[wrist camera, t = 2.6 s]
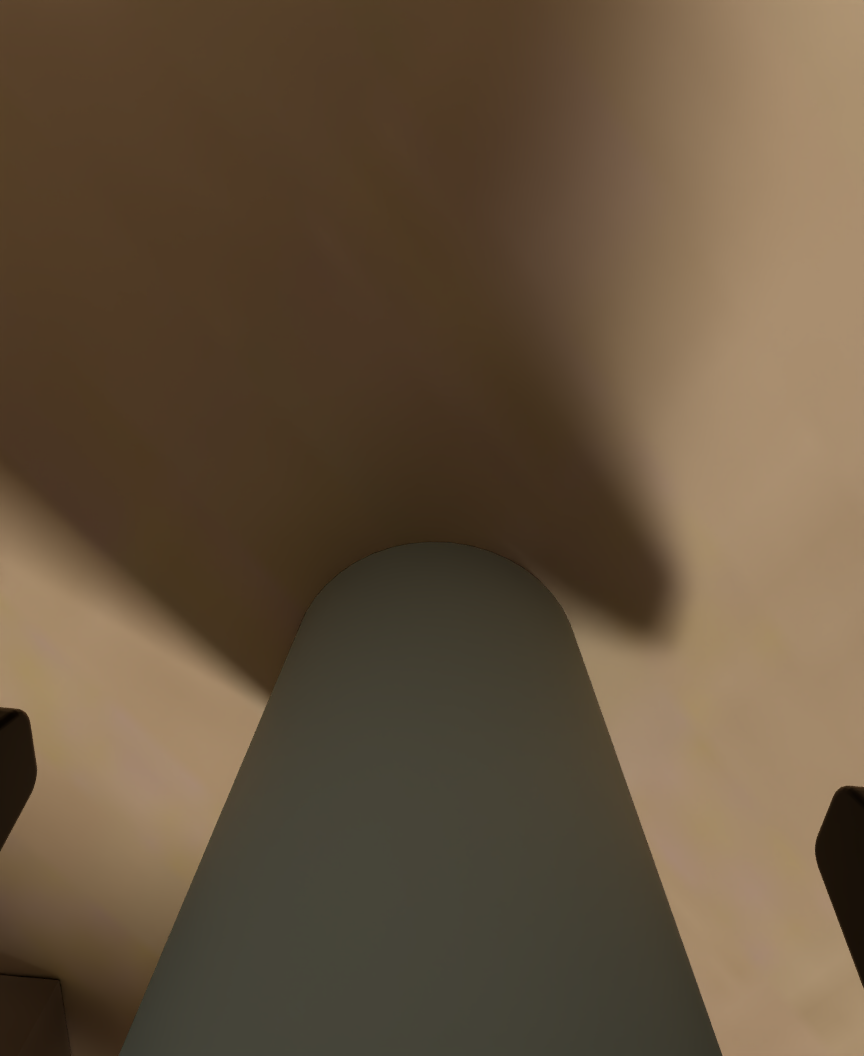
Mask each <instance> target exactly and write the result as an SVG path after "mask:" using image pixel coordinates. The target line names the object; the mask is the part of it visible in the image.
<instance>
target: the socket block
mask: <svg viewBox="0 0 864 1056" xmlns="http://www.w3.org/2000/svg"><path fill="white" fill-rule="evenodd" d="M0 1056H71V1051H70V1045H69V1039H68V1032H67V1026H66V1020H65V1013H64V1007H63V1001H62V994H61V988H60V982H59V980H51V979H39V978H27V977H16V976H4V975H0Z"/></svg>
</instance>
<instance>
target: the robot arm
mask: <svg viewBox="0 0 864 1056" xmlns="http://www.w3.org/2000/svg"><path fill="white" fill-rule="evenodd" d="M36 776H37V765H36V758H35V751H34V745H33V738H32V731H31V725H30V720H29V717H28V715H27V714H26V713H25V712H24V711H22V710H20V709H14V708H3V707H0V851H1V849H2V847H3V845H4V843H5V842H6V840H7V838H8V836H9V834H10V832H11V830H12V828H13V827H14V825H15V823H16V821H17V819H18V817H19V815H20V814H21V812H22V810H23V808H24V806H25V804H26V802H27V800H28V799H29V797H30V795H31V793H32V791H33V788H34V785H35V781H36ZM815 855H816V861H817V864H818V868H819V870H820V873H821V876H822V878H823V881H824V884H825V886H826V889H827V892H828V894H829V897H830V900H831V902H832V905H833V908H834V910H835V913H836V916H837V919H838V921H839V924H840V927H841V929H842V932H843V935H844V937H845V940H846V943H847V945H848V948H849V951H850V953H851V956H852V959H853V961H854V964H855V967H856V969H857V972H858V975H859V977H860V980H861V983H862V985H863V988H864V787H857V786H844V787H841V788H840V789H838V790H837V791H836V792H835V794H834V796H833V798H832V801H831V803H830V806H829V808H828V811H827V813H826V816H825V818H824V821H823V823H822V826H821V828H820V831H819V833H818V836H817V839H816V845H815Z"/></svg>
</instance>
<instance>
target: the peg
mask: <svg viewBox="0 0 864 1056" xmlns="http://www.w3.org/2000/svg"><path fill="white" fill-rule="evenodd" d="M119 1056H722V1053H721V1050H720V1048H719V1045H718V1042H717V1039H716V1036H715V1033H714V1030H713V1028H712V1025H711V1022H710V1019H709V1016H708V1013H707V1011H706V1008H705V1005H704V1002H703V999H702V996H701V994H700V991H699V988H698V985H697V982H696V979H695V977H694V974H693V971H692V968H691V965H690V962H689V959H688V957H687V954H686V951H685V948H684V945H683V942H682V940H681V937H680V934H679V931H678V928H677V925H676V923H675V920H674V917H673V914H672V911H671V908H670V905H669V903H668V900H667V897H666V894H665V891H664V888H663V886H662V883H661V880H660V877H659V874H658V871H657V869H656V866H655V863H654V860H653V857H652V854H651V851H650V849H649V846H648V843H647V840H646V837H645V834H644V832H643V829H642V826H641V823H640V820H639V817H638V815H637V812H636V809H635V806H634V803H633V800H632V797H631V795H630V792H629V789H628V786H627V783H626V780H625V778H624V775H623V772H622V769H621V766H620V763H619V761H618V758H617V755H616V752H615V749H614V746H613V744H612V741H611V738H610V735H609V732H608V729H607V726H606V724H605V721H604V718H603V715H602V712H601V709H600V707H599V704H598V701H597V698H596V695H595V692H594V690H593V687H592V684H591V681H590V678H589V675H588V672H587V670H586V667H585V664H584V661H583V658H582V655H581V653H580V650H579V647H578V644H577V641H576V638H575V636H574V633H573V630H572V627H571V624H570V622H569V620H568V618H567V616H566V614H565V612H564V610H563V609H562V607H561V606H560V604H559V603H558V601H557V600H556V599H555V597H554V596H553V595H552V593H551V592H550V591H549V590H548V589H547V588H546V587H545V586H544V585H543V584H542V583H541V582H540V581H539V580H538V579H537V578H535V577H534V576H533V575H531V574H530V573H529V572H528V571H526V570H525V569H524V568H522V567H520V566H519V565H517V564H515V563H513V562H512V561H510V560H508V559H506V558H504V557H502V556H499V555H497V554H495V553H492V552H490V551H487V550H483V549H480V548H476V547H473V546H468V545H462V544H456V543H446V542H423V543H412V544H406V545H401V546H397V547H392V548H388V549H386V550H383V551H380V552H377V553H374V554H371V555H369V556H367V557H365V558H363V559H361V560H359V561H357V562H355V563H354V564H352V565H351V566H349V567H348V568H346V569H345V570H343V571H342V572H340V573H339V574H338V575H337V576H336V577H335V578H333V579H332V580H331V581H330V582H329V583H328V584H327V585H326V586H325V587H324V588H323V589H322V590H321V592H320V593H319V594H318V595H317V596H316V598H315V599H314V600H313V602H312V603H311V605H310V607H309V608H308V610H307V612H306V613H305V615H304V618H303V620H302V622H301V625H300V627H299V629H298V632H297V634H296V637H295V639H294V641H293V644H292V646H291V648H290V651H289V653H288V656H287V658H286V660H285V663H284V665H283V667H282V670H281V672H280V674H279V677H278V679H277V682H276V684H275V686H274V689H273V691H272V693H271V696H270V698H269V701H268V703H267V705H266V708H265V710H264V712H263V715H262V717H261V719H260V722H259V724H258V727H257V729H256V731H255V734H254V736H253V738H252V741H251V743H250V746H249V748H248V750H247V753H246V755H245V757H244V760H243V762H242V764H241V767H240V769H239V772H238V774H237V776H236V779H235V781H234V783H233V786H232V788H231V791H230V793H229V795H228V798H227V800H226V802H225V805H224V807H223V810H222V812H221V814H220V817H219V819H218V821H217V824H216V826H215V828H214V831H213V833H212V836H211V838H210V840H209V843H208V845H207V847H206V850H205V852H204V855H203V857H202V859H201V862H200V864H199V866H198V869H197V871H196V873H195V876H194V878H193V881H192V883H191V885H190V888H189V890H188V892H187V895H186V897H185V900H184V902H183V904H182V907H181V909H180V911H179V914H178V916H177V918H176V921H175V923H174V926H173V928H172V930H171V933H170V935H169V937H168V940H167V942H166V945H165V947H164V949H163V952H162V954H161V956H160V959H159V961H158V964H157V966H156V968H155V971H154V973H153V975H152V978H151V980H150V982H149V985H148V987H147V990H146V992H145V994H144V997H143V999H142V1001H141V1004H140V1006H139V1009H138V1011H137V1013H136V1016H135V1018H134V1020H133V1023H132V1025H131V1027H130V1030H129V1032H128V1035H127V1037H126V1039H125V1042H124V1044H123V1046H122V1049H121V1051H120V1054H119Z"/></svg>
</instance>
